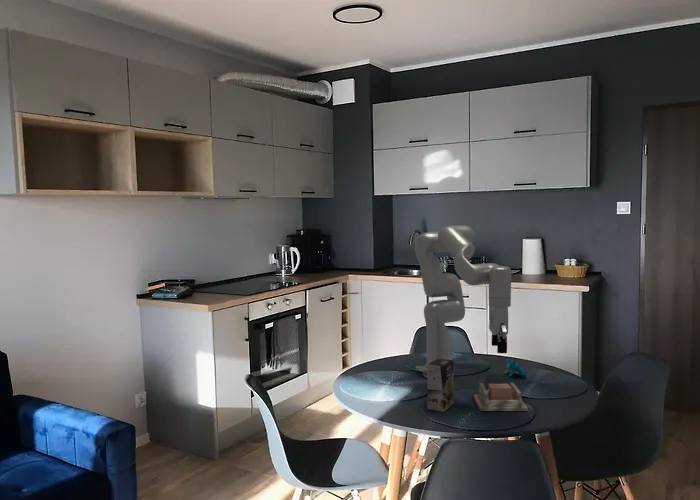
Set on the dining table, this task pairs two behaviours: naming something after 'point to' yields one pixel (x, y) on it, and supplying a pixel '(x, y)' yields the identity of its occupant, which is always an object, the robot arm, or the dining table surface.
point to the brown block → (499, 392)
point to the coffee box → (440, 384)
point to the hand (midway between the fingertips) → (499, 349)
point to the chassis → (500, 405)
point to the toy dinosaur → (514, 368)
